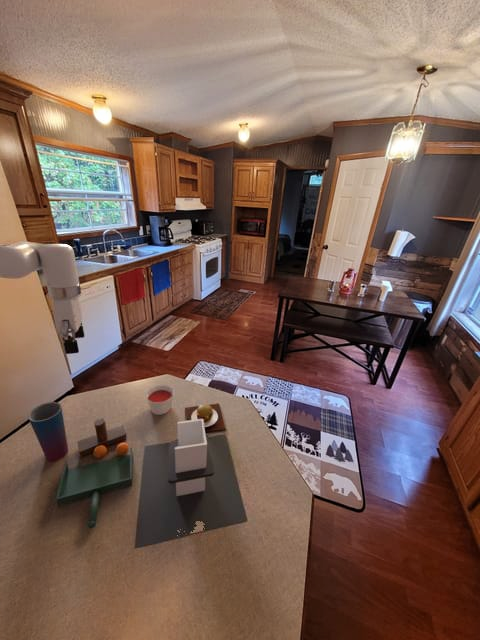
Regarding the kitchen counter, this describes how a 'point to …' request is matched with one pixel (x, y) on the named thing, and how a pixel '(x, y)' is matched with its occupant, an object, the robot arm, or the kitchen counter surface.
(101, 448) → the crumb
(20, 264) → the robot arm
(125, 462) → the dustpan
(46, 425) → the cup
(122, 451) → the crumb
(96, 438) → the brush
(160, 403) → the candle
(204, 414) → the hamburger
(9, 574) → the kitchen counter surface
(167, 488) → the candle holder
